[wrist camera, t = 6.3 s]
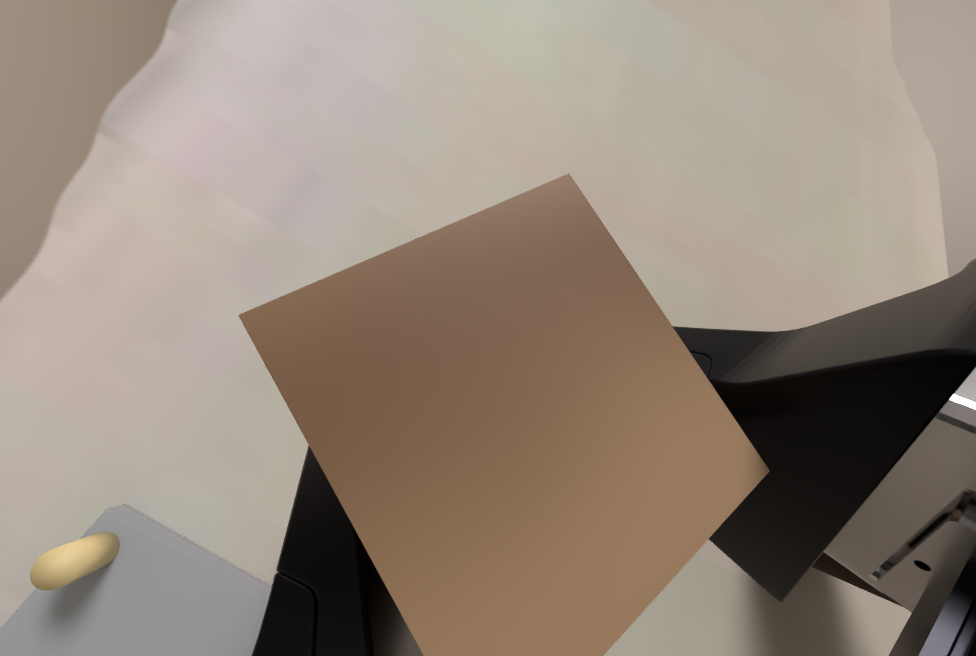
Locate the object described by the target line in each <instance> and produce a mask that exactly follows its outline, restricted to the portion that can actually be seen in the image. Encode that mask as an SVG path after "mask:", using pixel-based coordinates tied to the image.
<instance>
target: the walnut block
mask: <svg viewBox="0 0 976 656" xmlns="http://www.w3.org/2000/svg"><path fill="white" fill-rule="evenodd" d="M238 316H239V317H240V319H241V321H242V323H243V325H244V327H245V328H246V330H247V332H248V334H249V336H250V338H251V339H252V341H253V343H254V345H255V347H256V349H257V350H258V352H259V354H260V356H261V358H262V360H263V361H264V363H265V365H266V367H267V369H268V371H269V372H270V374H271V376H272V378H273V380H274V382H275V383H276V385H277V387H278V389H279V391H280V393H281V394H282V396H283V398H284V400H285V402H286V404H287V406H288V407H289V409H290V411H291V413H292V415H293V417H294V418H295V420H296V422H297V424H298V426H299V428H300V429H301V431H302V433H303V435H304V437H305V439H306V440H307V442H308V444H309V446H310V448H311V450H312V451H313V453H314V455H315V457H316V459H317V461H318V462H319V464H320V466H321V468H322V470H323V472H324V473H325V475H326V477H327V479H328V481H329V483H330V484H331V486H332V488H333V490H334V492H335V494H336V495H337V497H338V499H339V501H340V503H341V505H342V506H343V508H344V510H345V512H346V514H347V516H348V517H349V519H350V521H351V523H352V525H353V527H354V529H355V530H356V532H357V534H358V536H359V538H360V540H361V541H362V543H363V545H364V547H365V549H366V551H367V552H368V554H369V556H370V558H371V560H372V562H373V563H374V565H375V567H376V569H377V571H378V573H379V574H380V576H381V578H382V580H383V582H384V584H385V585H386V587H387V589H388V591H389V593H390V595H391V596H392V598H393V600H394V602H395V604H396V606H397V607H398V609H399V611H400V613H401V615H402V617H403V618H404V620H405V622H406V624H407V626H408V628H409V629H410V631H411V633H412V635H413V637H414V639H415V640H416V642H417V644H418V646H419V648H420V650H421V651H422V653H423V655H424V656H603V655H604V654H605V653H606V652H607V651H608V650H609V649H610V648H611V646H612V645H613V644H614V643H615V642H616V641H617V640H618V639H619V638H620V636H621V635H622V634H623V633H624V632H625V631H626V630H627V629H628V628H629V626H630V625H631V624H632V623H633V622H634V621H635V620H636V619H637V618H638V616H639V615H640V614H641V613H642V612H643V611H644V610H645V609H646V608H647V606H648V605H649V604H650V603H651V602H652V601H653V600H654V599H655V598H656V597H657V595H658V594H659V593H660V592H661V591H662V590H663V589H664V588H665V587H666V585H667V584H668V583H669V582H670V581H671V580H672V579H673V578H674V577H675V575H676V574H677V573H678V572H679V571H680V570H681V569H682V568H683V567H684V565H685V564H686V563H687V562H688V561H689V560H690V559H691V558H692V557H693V555H694V554H695V553H696V552H697V551H698V550H699V549H700V548H701V547H702V546H703V544H704V543H705V542H706V541H707V540H708V539H709V538H710V537H711V536H712V534H713V533H714V532H715V531H716V530H717V529H718V528H719V527H720V526H721V524H722V523H723V522H724V521H725V520H726V519H727V518H728V517H729V516H730V514H731V513H732V512H733V511H734V510H735V509H736V508H737V507H738V506H739V504H740V503H741V502H742V501H743V500H744V499H745V498H746V497H747V496H748V494H749V493H750V492H751V491H752V490H753V489H754V488H755V487H756V486H757V485H758V483H759V482H760V481H761V480H762V479H763V478H764V477H765V476H766V475H767V473H768V472H769V471H770V470H769V469H768V467H767V466H766V465H765V463H764V462H763V460H762V459H761V457H760V456H759V454H758V453H757V451H756V450H755V448H754V447H753V445H752V444H751V442H750V441H749V439H748V438H747V436H746V435H745V433H744V432H743V430H742V429H741V427H740V426H739V425H738V423H737V422H736V420H735V419H734V417H733V416H732V414H731V413H730V411H729V410H728V408H727V407H726V405H725V404H724V402H723V401H722V399H721V398H720V396H719V395H718V393H717V392H716V390H715V389H714V387H713V386H712V384H711V383H710V382H709V380H708V379H707V377H706V376H705V374H704V373H703V371H702V370H701V368H700V367H699V365H698V364H697V362H696V361H695V359H694V358H693V356H692V355H691V353H690V352H689V350H688V349H687V347H686V346H685V344H684V343H683V342H682V340H681V339H680V337H679V336H678V334H677V333H676V331H675V330H674V328H673V327H672V325H671V324H670V322H669V321H668V319H667V318H666V316H665V315H664V313H663V312H662V310H661V309H660V307H659V306H658V304H657V303H656V302H655V300H654V299H653V297H652V296H651V294H650V293H649V291H648V290H647V288H646V287H645V285H644V284H643V282H642V281H641V279H640V278H639V276H638V275H637V273H636V272H635V270H634V269H633V267H632V266H631V264H630V263H629V261H628V260H627V259H626V257H625V256H624V254H623V253H622V251H621V250H620V248H619V247H618V245H617V244H616V242H615V241H614V239H613V238H612V236H611V235H610V233H609V232H608V230H607V229H606V227H605V226H604V224H603V223H602V221H601V220H600V219H599V217H598V216H597V214H596V213H595V211H594V210H593V208H592V207H591V205H590V204H589V202H588V201H587V199H586V198H585V196H584V195H583V193H582V192H581V190H580V189H579V187H578V186H577V184H576V183H575V181H574V180H573V178H572V177H571V176H570V174H567V175H564V176H562V177H560V178H557V179H555V180H553V181H550V182H548V183H546V184H543V185H541V186H539V187H536V188H534V189H532V190H529V191H527V192H525V193H522V194H520V195H518V196H515V197H513V198H511V199H508V200H506V201H504V202H501V203H499V204H497V205H494V206H492V207H490V208H487V209H485V210H483V211H480V212H478V213H476V214H473V215H471V216H469V217H466V218H464V219H462V220H459V221H457V222H455V223H452V224H450V225H448V226H445V227H443V228H441V229H438V230H436V231H434V232H431V233H429V234H427V235H424V236H422V237H420V238H417V239H415V240H413V241H410V242H408V243H406V244H403V245H401V246H399V247H396V248H394V249H392V250H389V251H387V252H385V253H382V254H380V255H378V256H375V257H373V258H371V259H368V260H366V261H364V262H361V263H359V264H357V265H354V266H352V267H350V268H347V269H345V270H343V271H340V272H338V273H336V274H333V275H331V276H329V277H326V278H324V279H322V280H319V281H317V282H315V283H312V284H310V285H308V286H305V287H303V288H301V289H298V290H296V291H293V292H291V293H289V294H286V295H284V296H282V297H279V298H277V299H275V300H272V301H270V302H268V303H265V304H263V305H261V306H258V307H256V308H254V309H251V310H249V311H247V312H244V313H242V314H240V315H238Z"/></svg>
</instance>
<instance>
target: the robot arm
mask: <svg viewBox="0 0 976 656" xmlns="http://www.w3.org/2000/svg"><path fill="white" fill-rule="evenodd" d="M672 327H673V328H674V330H675V331H676V333H677V334H678V336H679V337H680V339H681V340H682V342H683V343H684V344H685V346H686V347H687V349H688V350H689V352H690V353H691V355H692V356H693V358H694V359H695V361H696V362H697V364H698V365H699V367H700V368H701V370H702V371H703V373H704V374H705V376H706V377H707V379H708V380H709V382H710V383H711V384H712V386H713V387H714V389H715V390H716V392H717V393H718V395H719V396H720V398H721V399H722V401H723V402H724V404H725V405H726V407H727V408H728V410H729V411H730V413H731V414H732V416H733V417H734V419H735V420H736V422H737V423H738V425H739V426H740V427H741V429H742V430H743V432H744V433H745V435H746V436H747V438H748V439H749V441H750V442H751V444H752V445H753V447H754V448H755V450H756V451H757V453H758V454H759V456H760V457H761V459H762V460H763V462H764V463H765V465H766V466H767V467H768V469H769V470H770V471H769V472H768V473H767V475H766V476H765V477H764V478H763V479H762V480H761V481H760V482H759V483H758V485H757V486H756V487H755V488H754V489H753V490H752V491H751V492H750V493H749V494H748V496H747V497H746V498H745V499H744V500H743V501H742V502H741V503H740V504H739V506H738V507H737V508H736V509H735V510H734V511H733V512H732V513H731V514H730V516H729V517H728V518H727V519H726V520H725V521H724V522H723V523H722V524H721V526H720V527H719V528H718V529H717V530H716V531H715V532H714V533H713V534H712V536H711V537H710V538H709V540H710V541H711V542H713V543H714V544H715V545H716V546H717V547H718V548H719V549H720V550H721V551H723V552H724V553H725V554H726V555H727V556H728V557H729V558H730V559H732V560H733V561H734V562H735V563H736V564H737V565H738V566H739V567H741V568H742V569H743V570H744V571H745V572H746V573H747V574H748V575H750V576H751V577H752V578H753V579H754V580H755V581H756V582H757V583H758V584H760V585H761V586H762V587H763V588H764V589H765V590H766V591H767V592H769V593H770V594H771V595H772V596H773V597H775V598H776V599H777V600H778V601H780V602H782V601H783V600H784V599H785V598H786V596H787V595H788V594H789V593H790V592H791V590H792V589H793V588H794V587H795V586H796V584H797V583H798V582H799V581H800V579H801V578H802V577H803V576H804V575H805V573H806V572H807V571H808V570H809V569H810V567H811V566H812V565H813V564H814V563H815V561H816V560H817V559H818V558H819V557H820V555H821V554H822V553H823V552H824V553H826V554H827V555H829V556H830V557H832V558H833V559H834V560H836V561H837V562H839V563H840V564H841V565H843V566H844V567H846V568H847V569H849V570H850V571H851V572H853V573H854V574H856V575H857V576H858V577H860V578H861V579H863V580H864V581H866V582H867V583H868V584H870V585H871V586H873V587H874V588H875V589H877V590H878V591H880V592H881V593H885V594H886V595H888V596H889V597H890V598H892V599H893V600H895V601H896V602H897V603H899V604H900V605H902V606H903V607H905V608H906V609H907V610H909V611H910V612H912V614H911V616H910V618H909V619H908V621H907V623H906V625H905V627H904V629H903V630H902V632H901V634H900V636H899V638H898V639H897V641H896V643H895V645H894V647H893V649H892V650H891V652H890V654H889V656H976V259H974V260H972V261H971V262H970V263H969V264H968V265H967V266H966V267H965V268H964V269H963V270H962V271H961V272H959V273H958V274H956V275H954V276H952V277H950V278H948V279H946V280H943V281H941V282H938V283H936V284H933V285H931V286H928V287H925V288H922V289H920V290H917V291H914V292H911V293H908V294H905V295H902V296H899V297H896V298H893V299H890V300H887V301H884V302H881V303H878V304H875V305H872V306H869V307H866V308H863V309H860V310H857V311H854V312H851V313H848V314H845V315H842V316H839V317H836V318H833V319H830V320H827V321H824V322H821V323H818V324H815V325H812V326H808V327H805V328H800V329H796V330H789V331H778V332H764V331H744V330H724V329H704V328H688V327H675V326H672ZM276 570H277V572H278V573H276V574H275V576H274V580H273V584H272V588H271V591H270V595H269V599H268V603H267V606H266V610H265V613H264V617H263V620H262V623H261V627H260V630H259V634H258V637H257V640H256V643H255V646H254V649H253V652H252V655H251V656H424V655H423V653H422V651H421V650H420V648H419V646H418V644H417V642H416V640H415V639H414V637H413V635H412V633H411V631H410V629H409V628H408V626H407V624H406V622H405V620H404V618H403V617H402V615H401V613H400V611H399V609H398V607H397V606H396V604H395V602H394V600H393V598H392V596H391V595H390V593H389V591H388V589H387V587H386V585H385V584H384V582H383V580H382V578H381V576H380V574H379V573H378V571H377V569H376V567H375V565H374V563H373V562H372V560H371V558H370V556H369V554H368V552H367V551H366V549H365V547H364V545H363V543H362V541H361V540H360V538H359V536H358V534H357V532H356V530H355V529H354V527H353V525H352V523H351V521H350V519H349V517H348V516H347V514H346V512H345V510H344V508H343V506H342V505H341V503H340V501H339V499H338V497H337V495H336V494H335V492H334V490H333V488H332V486H331V484H330V483H329V481H328V479H327V477H326V475H325V473H324V472H323V470H322V468H321V466H320V464H319V462H318V461H317V459H316V457H315V455H314V453H313V451H312V450H311V448H310V446H308V450H307V454H306V458H305V461H304V465H303V469H302V473H301V477H300V481H299V484H298V488H297V492H296V496H295V500H294V504H293V508H292V511H291V515H290V519H289V523H288V527H287V531H286V535H285V538H284V542H283V546H282V550H281V554H280V558H279V561H278V565H277V569H276Z"/></svg>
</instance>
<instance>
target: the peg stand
mask: <svg viewBox="0 0 976 656" xmlns="http://www.w3.org/2000/svg"><path fill="white" fill-rule="evenodd" d="M30 577H31V582H32V584H33V585H34V586H35V587H36V589H35V590H34V591H33V592H32V594H31V595H30V596H29V597H28V598H27V599H26V600H25V601H24V603H23V604H22V605H21V606H20V607H19V608H18V609H17V610H16V612H15V613H14V614H13V615H12V616H11V617H10V618H9V619H8V621H7V622H6V623H5V624H4V625H3V626H2V627H1V628H0V656H251V655H252V652H253V649H254V646H255V643H256V640H257V637H258V634H259V630H260V627H261V623H262V620H263V617H264V613H265V610H266V606H267V603H268V599H269V595H270V591H271V588H272V587H271V586H269V585H267V584H265V583H264V582H262V581H260V580H258V579H256V578H255V577H253V576H251V575H249V574H248V573H246V572H244V571H242V570H241V569H239V568H237V567H235V566H233V565H232V564H230V563H228V562H226V561H225V560H223V559H221V558H219V557H218V556H216V555H214V554H212V553H210V552H209V551H207V550H205V549H203V548H202V547H200V546H198V545H196V544H195V543H193V542H191V541H189V540H187V539H186V538H184V537H182V536H180V535H179V534H177V533H175V532H173V531H172V530H170V529H168V528H166V527H164V526H163V525H161V524H159V523H157V522H156V521H154V520H152V519H150V518H149V517H147V516H145V515H143V514H141V513H140V512H138V511H136V510H134V509H133V508H131V507H129V506H127V505H125V504H123V505H120V506H116V507H113V508H109V509H106V510H105V511H104V513H103V514H102V515H101V516H100V517H99V518H98V519H97V520H96V522H95V523H94V524H93V525H92V526H91V527H90V528H89V529H88V531H87V532H86V533H85V534H84V535H83V536H82V537H81V538H80V539H79V540H76V541H74V542H71V543H68V544H65V545H62V546H60V547H57V548H54V549H51V550H49V551H47V552H46V553H44V554H43V555H42V556H40V557H39V558H38V559H37V561H36V562H35V563H34V565H33V567H32V570H31V574H30Z"/></svg>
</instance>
